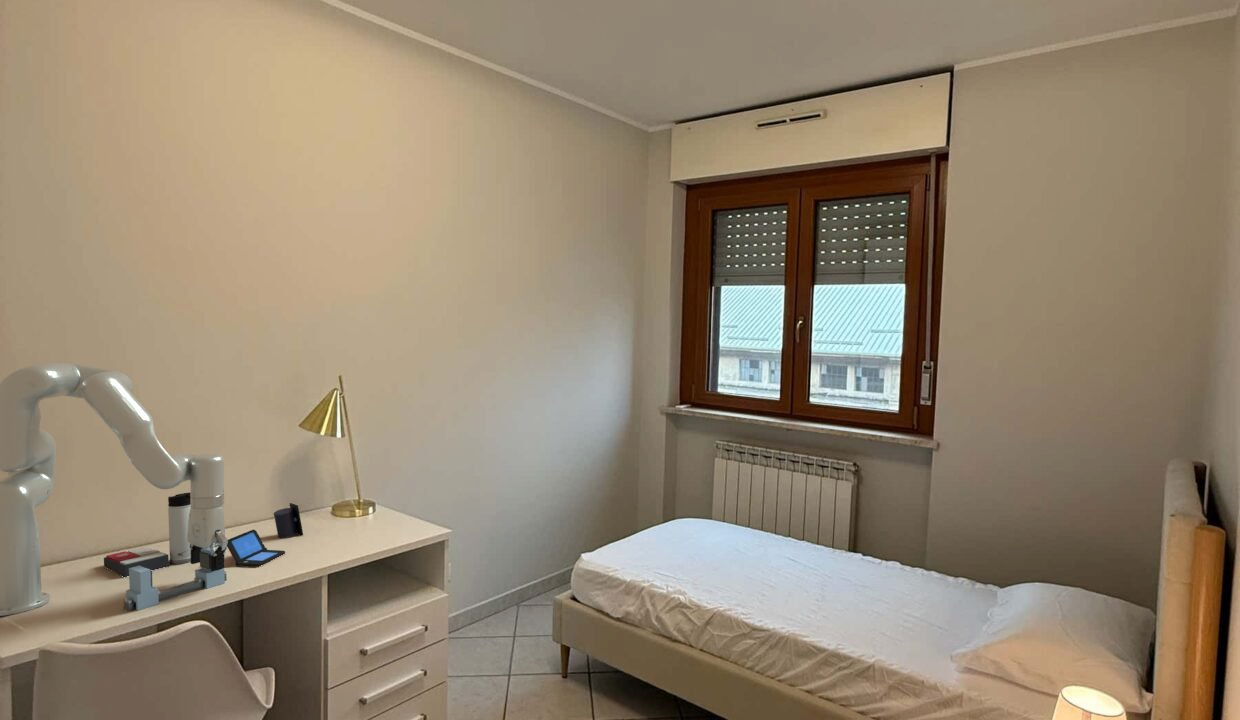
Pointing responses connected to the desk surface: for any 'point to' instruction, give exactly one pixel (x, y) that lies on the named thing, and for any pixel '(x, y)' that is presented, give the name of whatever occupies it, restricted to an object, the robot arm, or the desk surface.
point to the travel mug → (179, 528)
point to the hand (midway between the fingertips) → (207, 566)
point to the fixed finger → (142, 588)
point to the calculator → (136, 560)
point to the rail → (172, 592)
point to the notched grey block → (209, 570)
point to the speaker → (288, 521)
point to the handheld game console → (251, 550)
